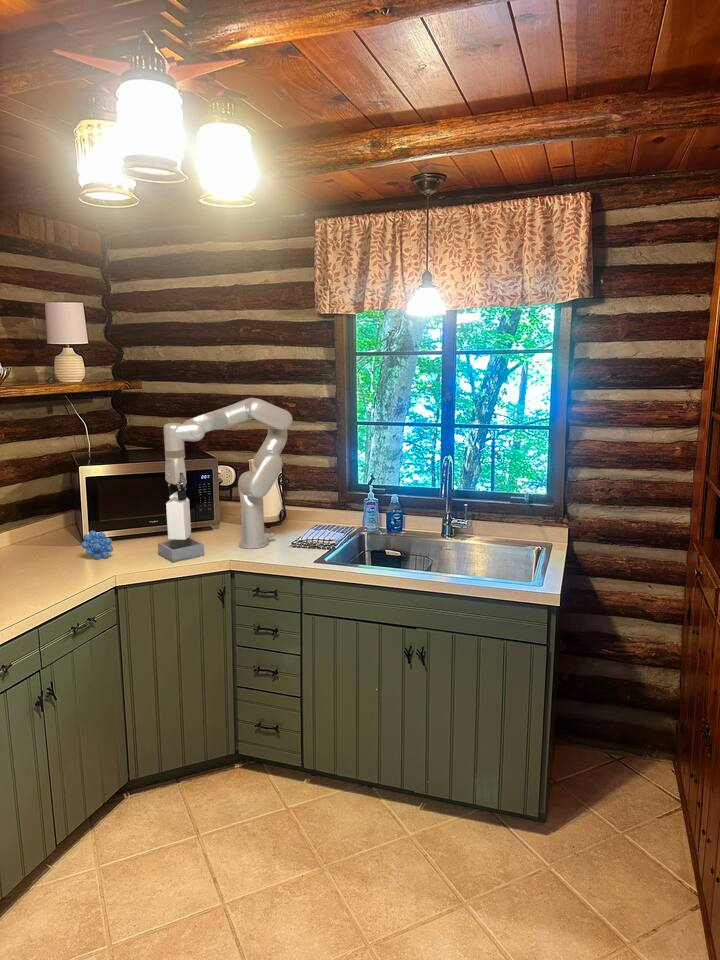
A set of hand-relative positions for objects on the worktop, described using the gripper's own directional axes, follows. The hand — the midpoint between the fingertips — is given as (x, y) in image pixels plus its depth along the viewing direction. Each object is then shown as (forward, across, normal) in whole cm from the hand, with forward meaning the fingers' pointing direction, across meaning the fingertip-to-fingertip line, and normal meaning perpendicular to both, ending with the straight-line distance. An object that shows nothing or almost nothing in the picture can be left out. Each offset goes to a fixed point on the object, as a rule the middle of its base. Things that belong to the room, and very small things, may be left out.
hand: (177, 497), depth 276 cm
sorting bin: (+24, 0, 0) cm, 24 cm away
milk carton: (+17, 0, 0) cm, 17 cm away
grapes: (+24, -16, -28) cm, 40 cm away
